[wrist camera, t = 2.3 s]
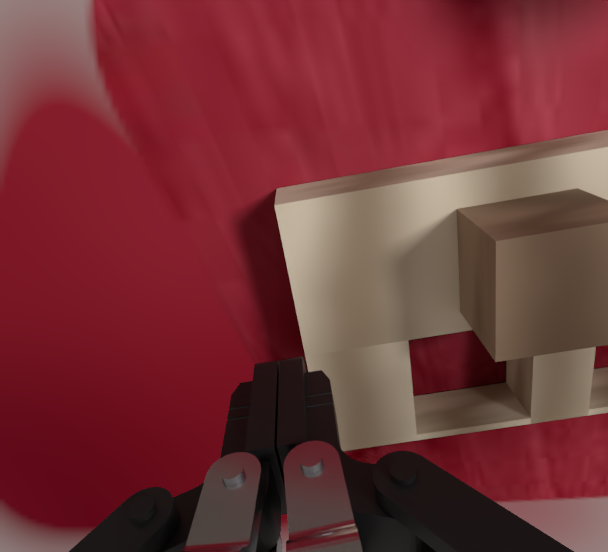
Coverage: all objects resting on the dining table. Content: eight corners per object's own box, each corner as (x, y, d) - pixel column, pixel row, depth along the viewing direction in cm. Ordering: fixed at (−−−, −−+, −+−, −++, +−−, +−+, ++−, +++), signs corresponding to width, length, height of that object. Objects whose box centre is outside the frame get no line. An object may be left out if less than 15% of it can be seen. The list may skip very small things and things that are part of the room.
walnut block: (577, 188, 19) (647, 215, 15) (569, 294, 21) (628, 341, 17) (456, 209, 19) (495, 241, 15) (460, 311, 21) (495, 362, 17)
